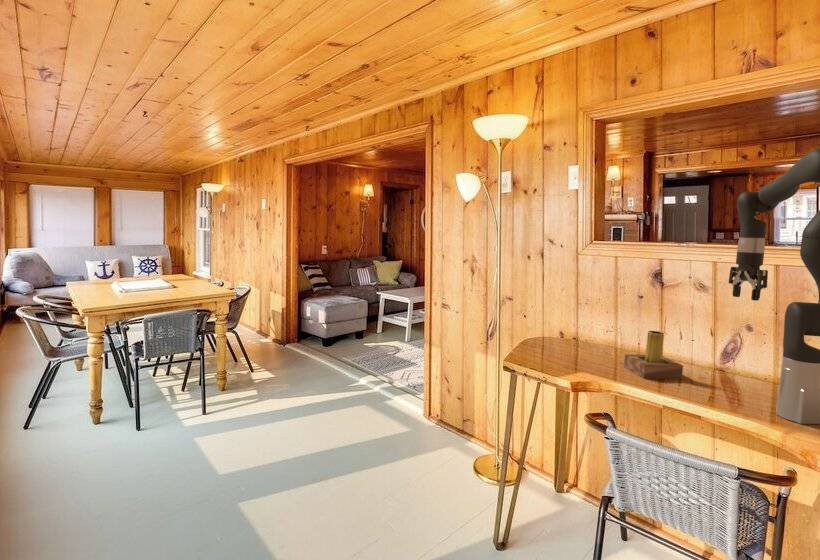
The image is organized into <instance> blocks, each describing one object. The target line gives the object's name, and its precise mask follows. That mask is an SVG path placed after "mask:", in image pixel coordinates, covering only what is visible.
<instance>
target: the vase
mask: <svg viewBox="0 0 820 560" xmlns="http://www.w3.org/2000/svg"><path fill="white" fill-rule="evenodd" d="M664 336H665V333H664V332H662V331H657V330H647V337H646V338H647V339H646V347H645V354H644V355H645V361H646V362H648V363H662V356H663V350H664V338H665V337H664Z"/></svg>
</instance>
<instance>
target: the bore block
mask: <svg viewBox="0 0 820 560" xmlns="http://www.w3.org/2000/svg"><path fill="white" fill-rule="evenodd" d="M623 361H624V362H623V364H624V365H623V367H624V368H625V369H626V370H627V371H630V372H631V373H633V374H635V375H637V376H639V377H640V378H642V379H643V380H644V379H649V380H653V379H654V380H659V379H660V380H682V379H683V370H684V365H682V364H680V363H679V362H676V361H674V360H673V359H670V358H668V357H666V356H663V355H662V363H648V362H646V361H645V354H632V353H631V354H629V353H628V354H624V360H623Z"/></svg>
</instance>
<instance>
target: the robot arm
mask: <svg viewBox="0 0 820 560" xmlns="http://www.w3.org/2000/svg"><path fill="white" fill-rule="evenodd" d="M808 183H816V184H820V147H819V148H815V149H813V150H811V151H810V152H807V153H806V154H805V155H803V157H801V158H800V159H799V160H798V161H797V162H795V163H794V164H793V165H792V166H791V167H790V168H789V169H788V170H787V171H785V172H784V173H783V174H782V175H780V176H778V177H777V178H776V179H773V180H771V181H770V182H768V183H767V184H765V185H763V186H761V188H760V189H759V190H758V191H743V192H742V193H741V194H739V196H738V198H737V199H736V200H737V201H736V209H737V213H738V218H739V223H740V227H739V228H740V230H739V239H738V242H737V249H736V258H735V259H736V260H735V264H736V265H738V266H731V267H730V271H729V276H728V277H729V278H728V284H731V285H732V297H734V298H740V297H741V293H742V292H741V289H742V286H741V285H742V284H744V282H748V283H749V284H750V286H751V287H752V290H751V299H750V300H752V301H757V302H758V301H760V297H761V293H762V292H761V290H763V289H767V288H768V278H769V277H768V275H769V270H767V269H761V267H762V266H763V265H764V260H765V259H764V258H765V250H766V249H765V248H766V230H767V222H766V221H764V220H760V219H757V218H755V216H754V213H755V214H766V213H769V212H770V213H771V212H772V211H774V210H775V208H776V207H778V205H779V204H780V203H782V202H784V201H787V200H788V199H790V198H793V196H795V195H796V194H797V193H798V190H799V189H800V186H801V185H804V184H808ZM799 253H800V258H801V260H802V262H803V265H804V266H805V267H806V269H807V271H808V272H809V273H810V275H811V277H812V278H813V280H814V282H815V284H816V288H817V291H818V301H817V302H803V301H793V302H790V303H789V304H788V306H787V307H786V309H785V313H784V322H783V339H782V349H783V350H782V359H781V368H780V375H779V384H778V392H777V399H776V409H775V414H776V415H777V416H778V415H779V416H778V417H780V418H782V419H785V420H788V421H792V422H796V424H797V423H798V424H799V425H800V424H803V425H804V424H805V425H806V424H807V425H811V424H813V425H815V424H816V425H818V424H819V425H820V348H817V347H815V346H811V345H809V343H806V342H805V336H810V337H820V209H819V210H818V211H817V212H816V213H815V215H814V216H813V217H812V218H811V219H810V220H809V222H808V223H807V224H806V226H805V227H804V229H803V231H802V234H801V242H800V251H799Z"/></svg>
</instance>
